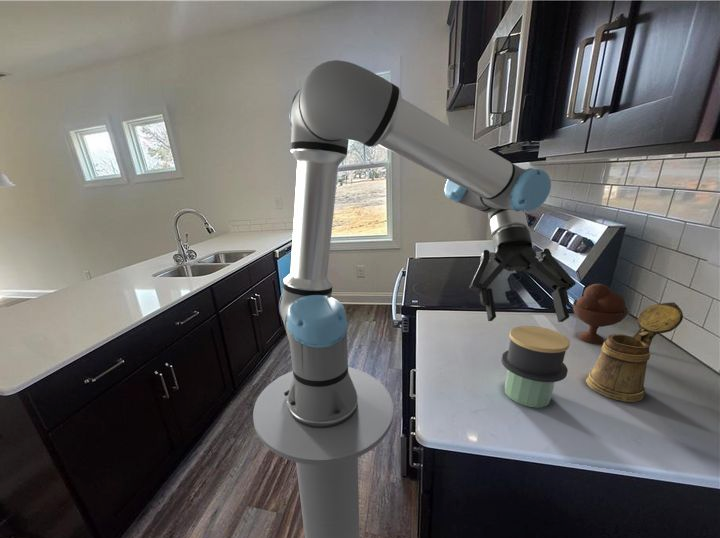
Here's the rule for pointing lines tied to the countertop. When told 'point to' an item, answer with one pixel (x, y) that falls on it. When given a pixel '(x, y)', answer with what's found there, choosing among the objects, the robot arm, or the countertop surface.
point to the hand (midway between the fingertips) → (527, 319)
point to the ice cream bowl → (598, 310)
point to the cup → (528, 390)
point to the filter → (536, 354)
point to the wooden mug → (631, 355)
